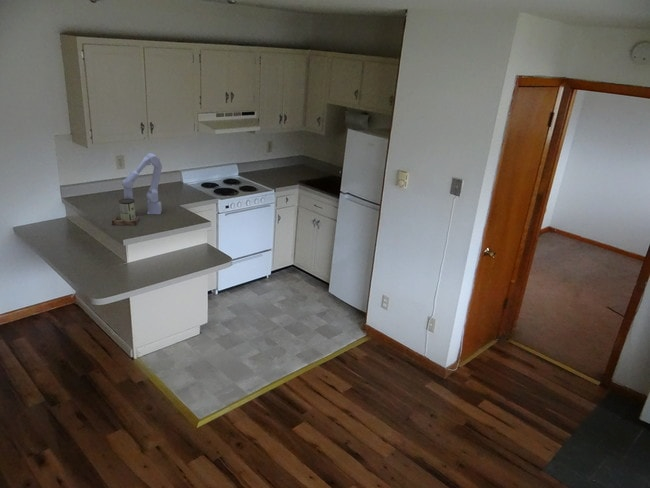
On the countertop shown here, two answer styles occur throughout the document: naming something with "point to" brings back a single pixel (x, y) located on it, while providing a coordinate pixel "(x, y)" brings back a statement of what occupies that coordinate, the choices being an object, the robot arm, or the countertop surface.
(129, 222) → the can dock
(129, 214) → the coffee can
